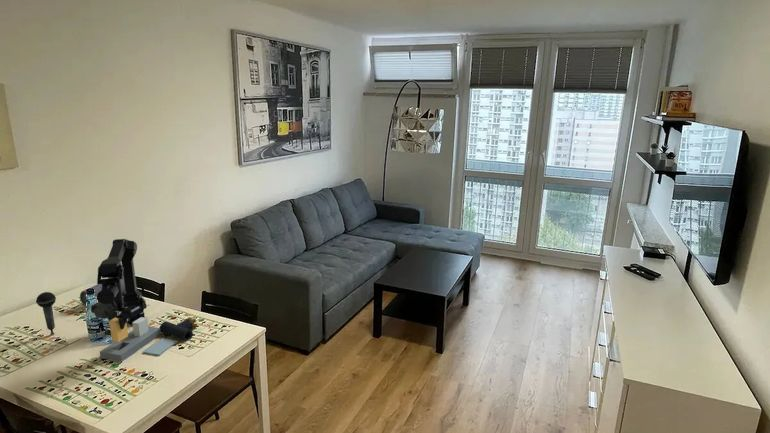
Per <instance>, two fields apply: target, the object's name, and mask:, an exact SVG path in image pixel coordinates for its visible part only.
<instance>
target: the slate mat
mask: <svg viewBox="0 0 770 433" xmlns="http://www.w3.org/2000/svg"><path fill="white" fill-rule="evenodd" d="M177 343H178V340H175V339H170V338H162V337H161V338H159V339H158V340H156V341H155V342H154V343H152V344H151V345H150V346H148V347H147V348H145V349H144V350H142V354H147V355H151V356H157V357H158V356H159V357H160V356H161V355H162V354H164V353H165V352H167V351H168V350H169V349H171V347H173V346H174V345H175V344H177Z"/></svg>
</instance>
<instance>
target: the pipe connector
mask: <svg viewBox="0 0 770 433" xmlns="http://www.w3.org/2000/svg"><path fill="white" fill-rule="evenodd" d="M196 323H197V319H196V318H192V317H190V316H189V317H187V318H185V319H184V320H183V321H181V322H179V323H177V324H175V323H173V322H170V321H163V322H162V323H161V324H160V326H159V328H160V329H161V334H162V333H163V334H165V335H167V336H170V337H172V338H174V339H175V338H176V339H178V340H180V341H183V342H188V341H190V340H192V337H193V335H194V332H193V330H194V329H196V328H197V324H196Z"/></svg>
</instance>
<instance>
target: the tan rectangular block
mask: <svg viewBox="0 0 770 433" xmlns="http://www.w3.org/2000/svg"><path fill="white" fill-rule="evenodd" d="M108 321H109V320H108ZM108 324H109V330H110V338H111V342H112V343H114V342H120V341H121V340H123V339H124V338H126V337H128V333H129V332H128V331H129V330H128V325H127V323H126V324H125V326H124V329H122V330H121V328H120V324H119V319H118V318H116V317H115V318H113V319H112V320H110V321H109V323H108Z"/></svg>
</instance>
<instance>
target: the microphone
mask: <svg viewBox="0 0 770 433" xmlns="http://www.w3.org/2000/svg"><path fill="white" fill-rule="evenodd" d="M56 300H57V297H56V295H55V294H54V293H52V292H50V291H43V292H42V293H40V294H38V296H37V297H36V300H35V303H36V304H37V306H39V307H40V308H42V310H43V314H44V320H45V324H46V327H47V328H46V329H47V330H49V331H50V335H51V336H54V335H55V332H54V330H55V328H56V325H55V316H54V311H53V310H54V309H53V305H54V304H55V303H56Z"/></svg>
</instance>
